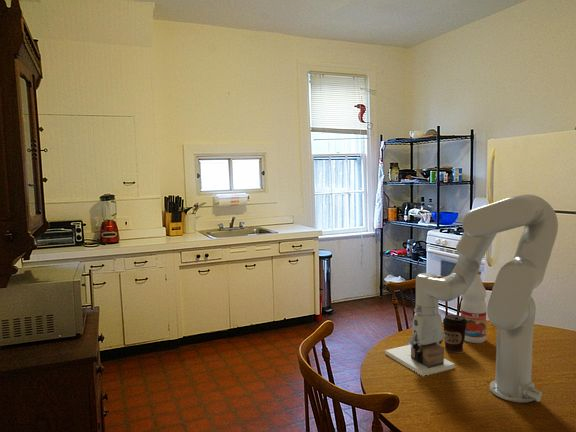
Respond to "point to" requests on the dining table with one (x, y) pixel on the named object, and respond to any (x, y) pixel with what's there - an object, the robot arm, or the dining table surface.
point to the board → (405, 358)
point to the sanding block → (430, 355)
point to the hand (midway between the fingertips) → (426, 359)
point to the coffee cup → (454, 333)
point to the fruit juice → (475, 311)
